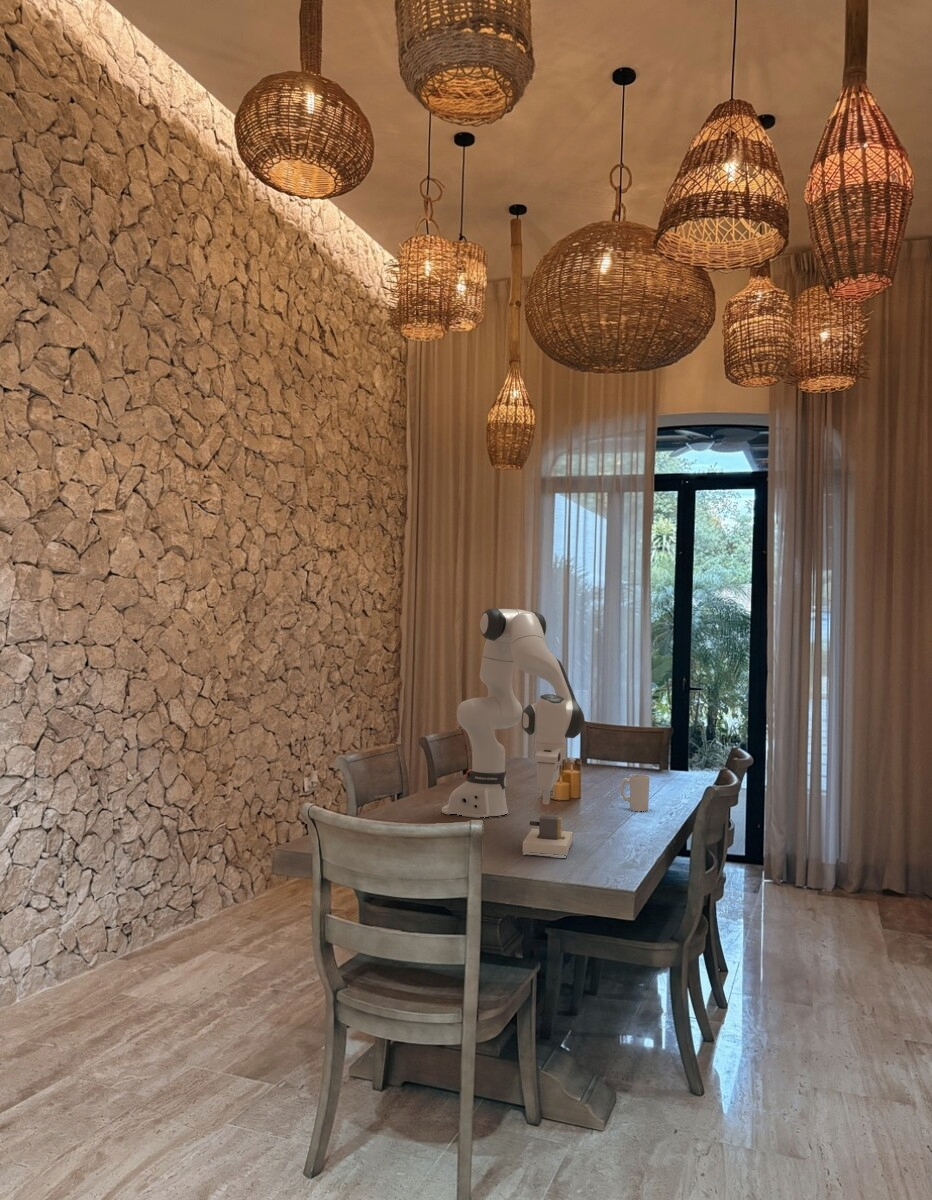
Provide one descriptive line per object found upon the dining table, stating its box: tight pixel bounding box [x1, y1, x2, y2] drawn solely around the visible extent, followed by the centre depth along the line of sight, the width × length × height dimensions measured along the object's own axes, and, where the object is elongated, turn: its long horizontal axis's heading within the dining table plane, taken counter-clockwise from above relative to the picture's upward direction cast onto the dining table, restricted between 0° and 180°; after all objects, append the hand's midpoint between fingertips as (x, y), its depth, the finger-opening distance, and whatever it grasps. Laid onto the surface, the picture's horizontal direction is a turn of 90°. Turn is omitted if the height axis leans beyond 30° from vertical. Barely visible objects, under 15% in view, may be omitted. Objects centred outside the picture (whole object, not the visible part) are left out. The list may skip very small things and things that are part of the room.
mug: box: [620, 773, 650, 813], centre depth 318 cm, size 10×7×12 cm, turn 69°
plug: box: [529, 815, 563, 840], centre depth 258 cm, size 9×4×8 cm, turn 78°
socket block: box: [522, 828, 574, 856], centre depth 257 cm, size 12×18×4 cm, turn 168°
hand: (548, 800), depth 258 cm, fingers open, 8 cm apart
